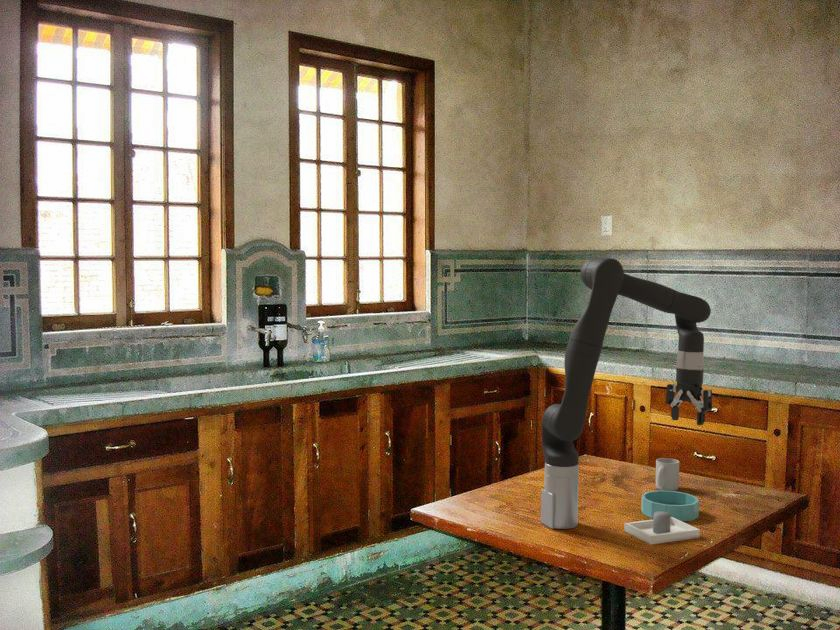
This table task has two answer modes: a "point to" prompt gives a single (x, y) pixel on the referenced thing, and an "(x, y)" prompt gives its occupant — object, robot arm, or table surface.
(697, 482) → the table surface
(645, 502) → the bowl
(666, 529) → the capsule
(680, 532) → the tray
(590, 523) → the table surface
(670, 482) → the cup
